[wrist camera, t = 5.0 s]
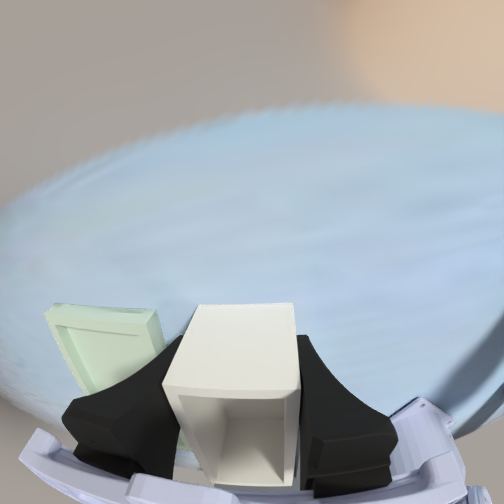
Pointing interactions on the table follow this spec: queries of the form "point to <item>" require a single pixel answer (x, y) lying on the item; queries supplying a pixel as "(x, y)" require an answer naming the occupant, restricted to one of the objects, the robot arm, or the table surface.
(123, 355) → the tray
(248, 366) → the box
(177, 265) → the table surface
